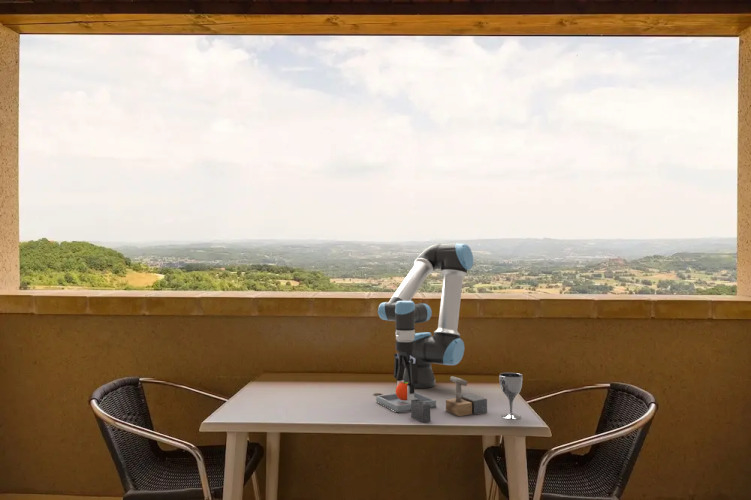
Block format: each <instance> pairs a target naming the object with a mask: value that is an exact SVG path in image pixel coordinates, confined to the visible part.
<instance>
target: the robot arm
mask: <svg viewBox="0 0 751 500" xmlns="http://www.w3.org/2000/svg"><path fill="white" fill-rule="evenodd" d="M473 265H474V256H473V252H472V249H471V248H470V246H469V245H468V244H466V243H457V242H455V243H436V244H432V245H430V246H428V247H427V248H426V249H424V250H423V251H422V252H421V253H420V254H419V255H418V256H417V257H416V259H414V261H413V267H412V268H411V269H410V271H409V272H408V274H407V275H406V276H405V277H404V279H403V281H402V282H401V283H400V284H399V286H398V288H397V289H396V290H395V292H394V293H393V295H392V296H391V298H390V299H389V301H385V302H380V304H379V305H378V309H377V314H378V316H379V318H380V319H381V320H383V321H389V322H395V334H394V335H395V351H396V353H394V354H393V355H394V369H393V379H396V385H397V386H398V385H399V384H400V383H403V382H408V384H407V402H411V400H414V392H415V389H426V388H427V389H428V388H431V387H434V386H436V378H435V375H434V374H435V373H434V371H433V369H432V364H435V365H436V364H438V365H443V366H444V365H445V366H456V365H458V364H459V363H460V362H461V361H462V359H463V357H464V353H465V342H464V341H463V339H461V334H460V332H458V327H459V319H460V309H461V308H460V307H461V299H462V289H463V281H464V277H465V276H467V274H468V271H469V270H471V269H472V267H473ZM436 270H440V273H441V274H442V276H443V279H442V280H443V281H442V287H441V297H440V298H441V299H440V305H439V314H438V316H439V317H438V322H437V323H438V324H437V329H436V330H435V331H433V335H432V333H431V332H428V331H427V332H425V331H424V332H415V331H416V330H415V329H416V328H415V326H416V325H415V324H420V323H425V322H427V321H429V320H430V319H431V317H432V314H433V313H432V308H431V306H430V305H428V304H427V303H424V302H422V303H415V302H414V301H413V298H414V296H415V295H416V294H417V292H418V290H419V289H420V287H421V286H422V285H423V283H424V282H425V280H426V279H427V277H428V276H429V275H432V273H433V272H434V271H436ZM397 386H396V387H397ZM397 398H398V397H397Z"/></svg>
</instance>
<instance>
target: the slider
mask: <svg viewBox="0 0 751 500" xmlns="http://www.w3.org/2000/svg"><path fill="white" fill-rule="evenodd" d="M449 380H450V382H452V383H455V398H449V399H445V411H446V412H448V413H450V414H452V415H455V416H457V417H463V416H468V415H473V414H472V403H471V402H468V401H466V400H463V399H461V395H462V386H464V387H466V386H468V381H467V380H465V379H463V378H460V377H456V376H453V375H452V376H450V378H449Z"/></svg>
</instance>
